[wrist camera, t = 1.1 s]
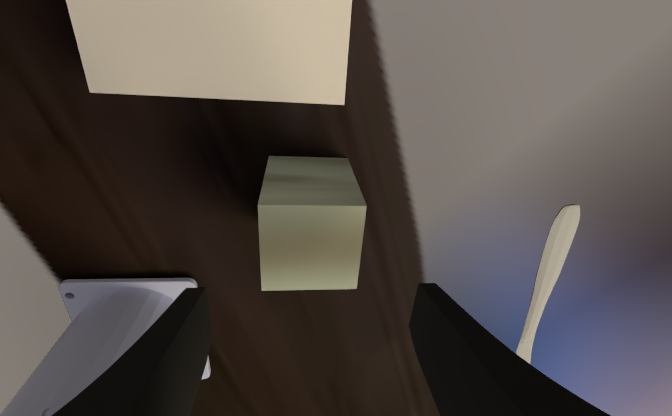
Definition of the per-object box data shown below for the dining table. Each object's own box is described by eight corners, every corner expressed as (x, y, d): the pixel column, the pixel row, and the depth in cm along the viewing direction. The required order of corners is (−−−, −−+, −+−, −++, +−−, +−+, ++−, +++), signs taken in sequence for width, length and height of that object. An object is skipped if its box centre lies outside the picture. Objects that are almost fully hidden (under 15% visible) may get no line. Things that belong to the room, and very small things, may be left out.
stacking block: (341, 224, 21) (356, 288, 16) (270, 224, 21) (261, 290, 15) (347, 158, 19) (366, 206, 14) (268, 155, 19) (257, 204, 13)
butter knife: (600, 204, 22) (560, 208, 22) (510, 430, 35) (484, 436, 35) (593, 200, 23) (554, 204, 22) (507, 425, 36) (481, 430, 35)
